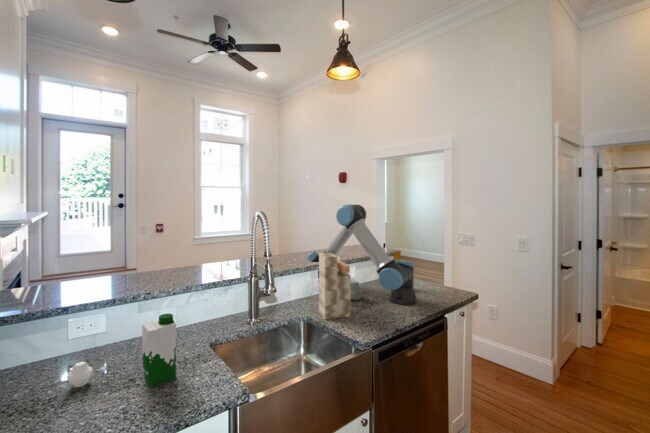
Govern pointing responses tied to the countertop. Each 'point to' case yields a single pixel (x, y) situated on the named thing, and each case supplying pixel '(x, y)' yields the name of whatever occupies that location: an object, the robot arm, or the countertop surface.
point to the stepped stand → (333, 288)
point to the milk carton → (159, 350)
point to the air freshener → (355, 291)
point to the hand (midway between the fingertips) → (336, 257)
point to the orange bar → (343, 266)
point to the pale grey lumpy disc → (80, 374)
